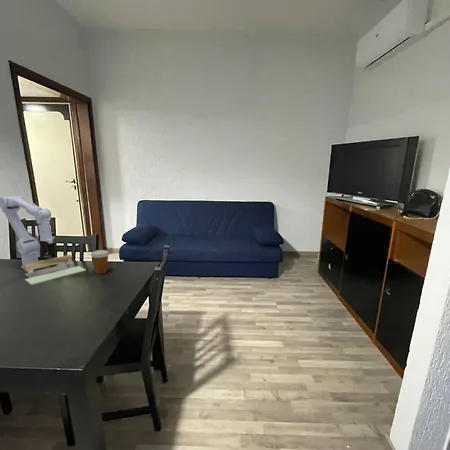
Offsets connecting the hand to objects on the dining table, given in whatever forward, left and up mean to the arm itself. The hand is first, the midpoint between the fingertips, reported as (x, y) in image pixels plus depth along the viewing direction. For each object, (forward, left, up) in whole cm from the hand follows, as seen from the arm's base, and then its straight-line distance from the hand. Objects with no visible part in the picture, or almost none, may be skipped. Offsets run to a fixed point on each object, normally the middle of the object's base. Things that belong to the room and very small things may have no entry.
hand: (48, 254), depth 162 cm
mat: (+9, 0, -11) cm, 14 cm away
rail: (-1, 0, -7) cm, 7 cm away
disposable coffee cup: (+21, +19, -11) cm, 30 cm away
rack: (-1, 0, -11) cm, 11 cm away
